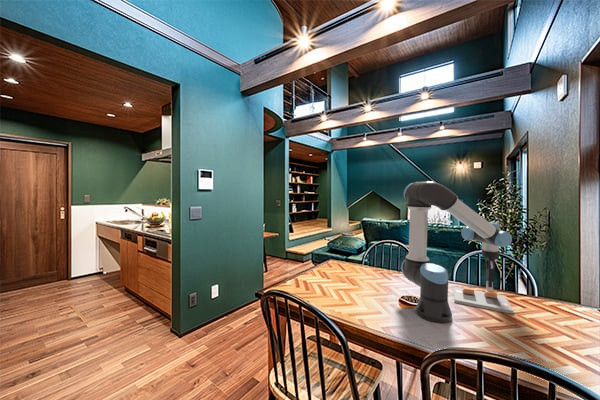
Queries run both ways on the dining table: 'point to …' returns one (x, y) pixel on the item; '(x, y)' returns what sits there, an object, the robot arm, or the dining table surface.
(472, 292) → the tab
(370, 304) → the dining table surface
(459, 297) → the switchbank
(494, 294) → the tab
